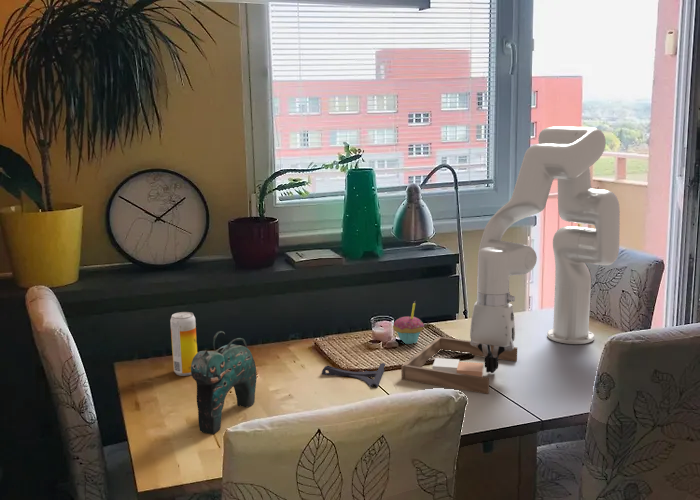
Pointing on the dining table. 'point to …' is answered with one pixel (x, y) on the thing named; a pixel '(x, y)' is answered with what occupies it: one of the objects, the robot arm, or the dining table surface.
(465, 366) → the terracotta tile
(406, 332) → the cupcake
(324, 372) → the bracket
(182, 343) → the beer can
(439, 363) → the white square tile
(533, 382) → the dining table surface
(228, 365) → the ceramic cat
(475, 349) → the frame
